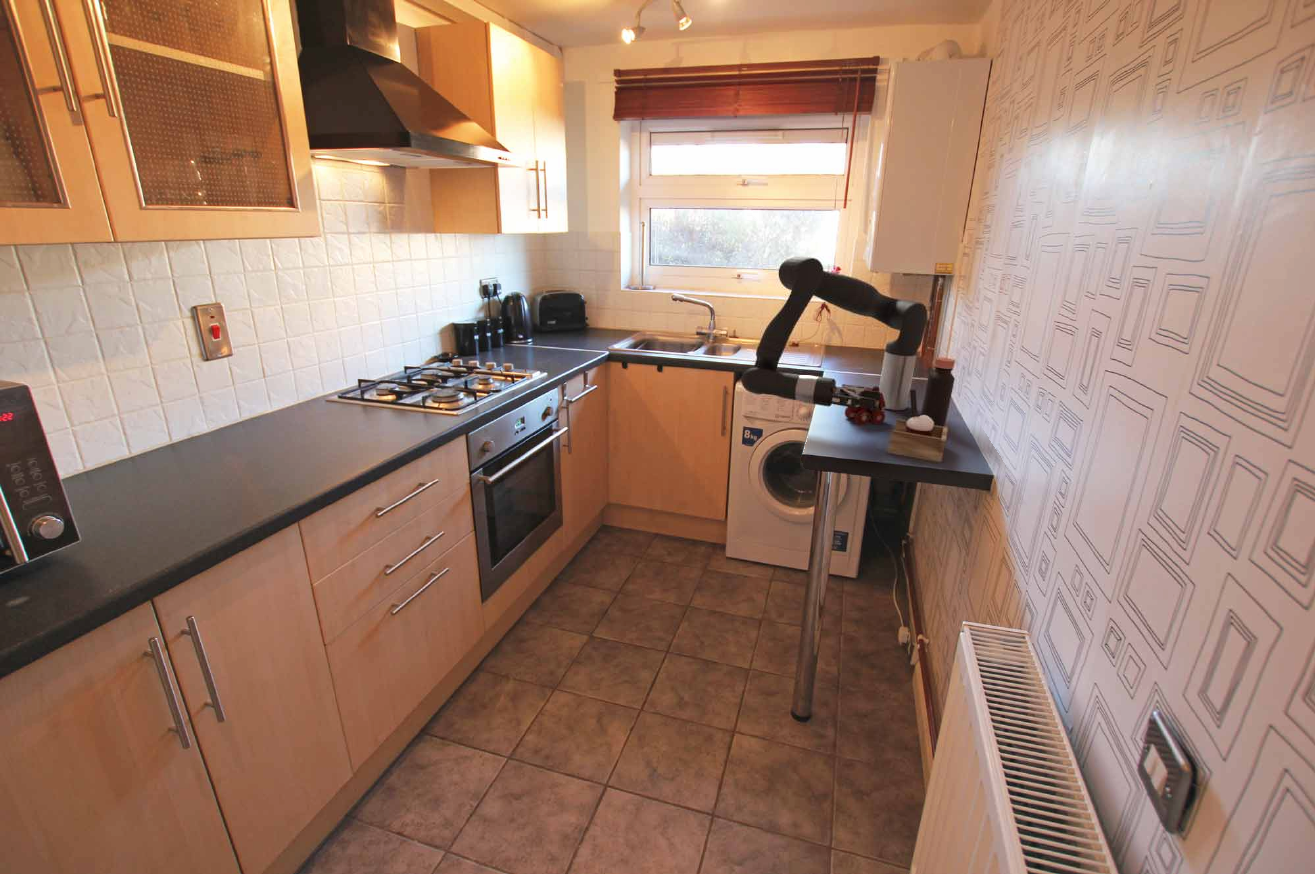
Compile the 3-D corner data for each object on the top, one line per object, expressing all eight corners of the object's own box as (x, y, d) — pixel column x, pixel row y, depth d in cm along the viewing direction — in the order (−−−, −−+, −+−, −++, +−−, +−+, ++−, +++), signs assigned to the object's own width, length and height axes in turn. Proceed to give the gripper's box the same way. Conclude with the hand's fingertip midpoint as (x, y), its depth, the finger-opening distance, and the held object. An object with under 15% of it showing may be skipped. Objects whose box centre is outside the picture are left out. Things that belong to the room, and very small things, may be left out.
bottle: (918, 422, 179) (931, 355, 173) (943, 426, 177) (957, 358, 171) (919, 429, 173) (933, 360, 167) (945, 432, 171) (960, 363, 165)
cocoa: (934, 448, 152) (946, 402, 147) (908, 445, 152) (920, 400, 148) (921, 434, 161) (933, 391, 156) (897, 431, 161) (908, 388, 156)
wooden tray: (893, 437, 165) (897, 418, 163) (943, 446, 160) (948, 426, 158) (887, 452, 153) (891, 431, 152) (941, 462, 148) (945, 441, 146)
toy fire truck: (889, 424, 177) (895, 389, 174) (852, 425, 174) (857, 390, 170) (875, 417, 183) (881, 383, 180) (839, 418, 180) (844, 384, 177)
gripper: (811, 382, 157) (876, 391, 150) (822, 371, 169) (883, 380, 162) (807, 409, 159) (871, 420, 153) (819, 397, 172) (879, 407, 165)
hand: (877, 399), depth 158 cm, fingers open, 8 cm apart
